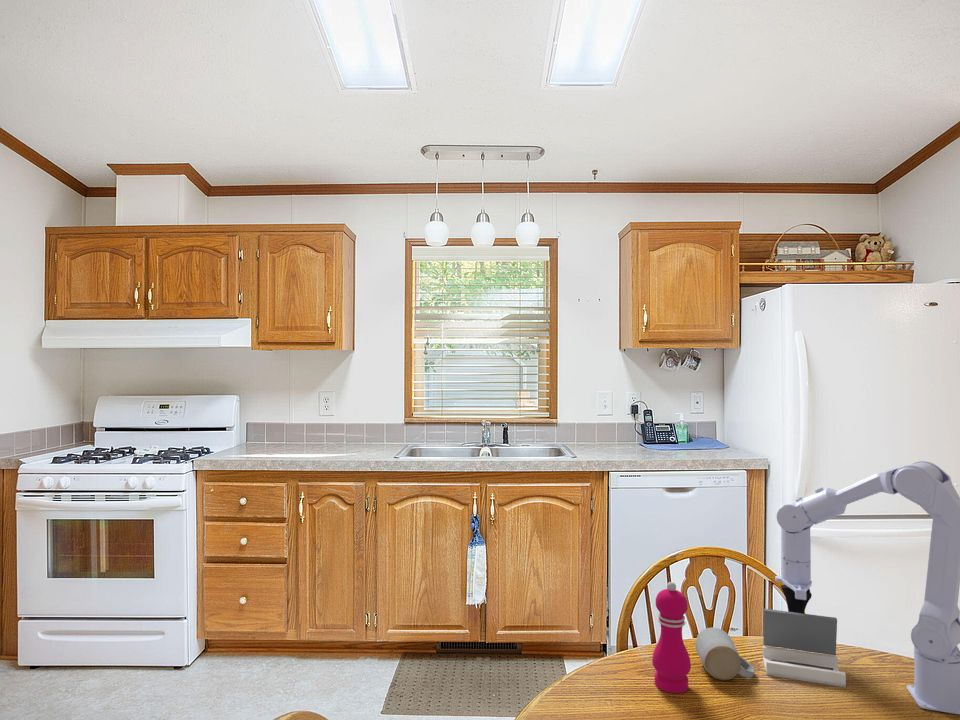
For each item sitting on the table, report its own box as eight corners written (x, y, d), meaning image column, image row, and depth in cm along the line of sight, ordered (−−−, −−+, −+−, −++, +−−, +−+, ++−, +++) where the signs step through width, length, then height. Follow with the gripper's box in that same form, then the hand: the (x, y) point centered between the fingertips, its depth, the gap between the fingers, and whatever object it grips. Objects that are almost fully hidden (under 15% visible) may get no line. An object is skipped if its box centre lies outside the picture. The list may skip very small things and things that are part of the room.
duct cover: (835, 655, 126) (834, 653, 127) (837, 619, 125) (836, 617, 125) (763, 645, 130) (763, 642, 131) (764, 610, 129) (763, 608, 130)
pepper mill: (693, 697, 114) (693, 590, 115) (653, 692, 116) (653, 587, 116) (688, 678, 121) (688, 577, 122) (650, 674, 123) (651, 574, 123)
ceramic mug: (704, 681, 120) (705, 642, 120) (694, 661, 128) (695, 625, 128) (760, 686, 119) (761, 646, 119) (746, 665, 127) (747, 628, 127)
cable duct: (836, 668, 126) (836, 656, 126) (845, 687, 118) (845, 674, 118) (762, 657, 130) (762, 645, 130) (766, 674, 123) (766, 662, 123)
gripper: (771, 547, 141) (771, 606, 141) (779, 566, 127) (779, 632, 127) (805, 551, 138) (806, 611, 138) (817, 570, 125) (817, 637, 125)
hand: (795, 621), depth 132 cm, fingers closed
